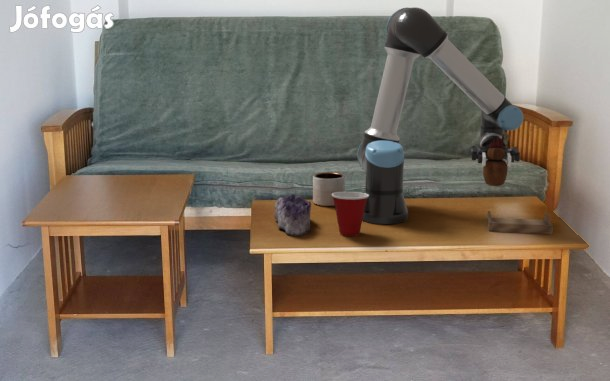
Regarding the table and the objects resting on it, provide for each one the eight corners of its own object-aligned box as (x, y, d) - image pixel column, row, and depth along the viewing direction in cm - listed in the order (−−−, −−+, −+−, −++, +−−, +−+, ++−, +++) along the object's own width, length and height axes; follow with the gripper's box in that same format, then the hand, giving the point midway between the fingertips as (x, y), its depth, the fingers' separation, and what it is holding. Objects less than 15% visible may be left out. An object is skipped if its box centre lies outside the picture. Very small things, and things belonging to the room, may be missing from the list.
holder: (489, 231, 203) (489, 222, 203) (487, 218, 216) (487, 211, 215) (552, 234, 200) (552, 226, 199) (546, 221, 212) (547, 213, 212)
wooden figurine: (509, 184, 204) (511, 133, 201) (503, 188, 200) (505, 136, 196) (486, 181, 208) (488, 132, 204) (480, 185, 203) (482, 135, 200)
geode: (321, 235, 201) (317, 203, 198) (282, 243, 200) (277, 210, 197) (310, 214, 220) (306, 184, 217) (274, 220, 219) (269, 190, 216)
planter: (332, 208, 229) (332, 180, 227) (306, 203, 235) (306, 176, 233) (351, 202, 237) (351, 174, 235) (325, 197, 244) (325, 170, 241)
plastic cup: (371, 229, 206) (371, 189, 203) (365, 240, 196) (365, 198, 193) (335, 226, 209) (335, 188, 206) (327, 237, 199) (327, 196, 196)
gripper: (524, 159, 218) (531, 175, 196) (461, 158, 222) (461, 173, 200) (525, 135, 216) (533, 149, 194) (462, 134, 220) (462, 148, 198)
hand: (497, 161), depth 197 cm, fingers closed on wooden figurine, 6 cm apart
